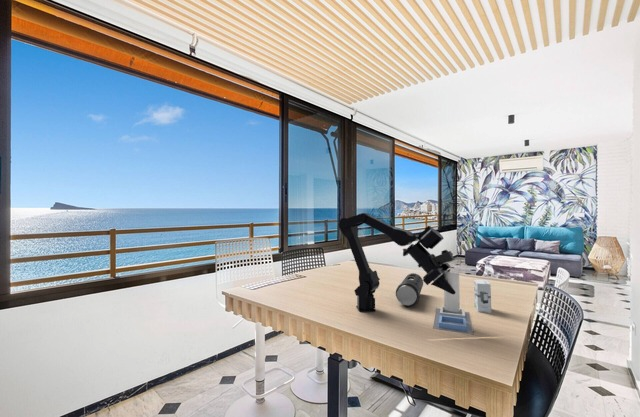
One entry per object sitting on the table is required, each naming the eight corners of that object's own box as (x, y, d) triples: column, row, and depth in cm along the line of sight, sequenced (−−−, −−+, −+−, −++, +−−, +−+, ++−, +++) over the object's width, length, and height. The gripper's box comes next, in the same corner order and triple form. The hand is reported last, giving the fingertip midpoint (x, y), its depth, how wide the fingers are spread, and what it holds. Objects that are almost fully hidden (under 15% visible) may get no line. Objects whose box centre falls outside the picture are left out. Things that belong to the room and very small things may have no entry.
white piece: (445, 310, 97) (445, 273, 98) (443, 306, 102) (443, 271, 102) (461, 312, 96) (460, 274, 97) (458, 307, 101) (457, 272, 101)
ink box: (474, 306, 121) (473, 278, 121) (487, 308, 119) (486, 279, 119) (477, 313, 113) (476, 283, 113) (491, 314, 111) (491, 284, 111)
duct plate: (473, 336, 90) (473, 329, 91) (432, 329, 95) (432, 323, 96) (469, 313, 112) (469, 308, 112) (436, 309, 117) (436, 304, 117)
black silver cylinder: (424, 294, 141) (423, 273, 142) (418, 310, 116) (418, 285, 116) (404, 292, 145) (403, 272, 146) (395, 308, 120) (394, 283, 120)
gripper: (432, 244, 94) (470, 282, 88) (444, 241, 110) (477, 273, 103) (409, 266, 99) (443, 304, 92) (423, 259, 114) (454, 291, 107)
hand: (456, 292), depth 98 cm, fingers closed on white piece, 5 cm apart
